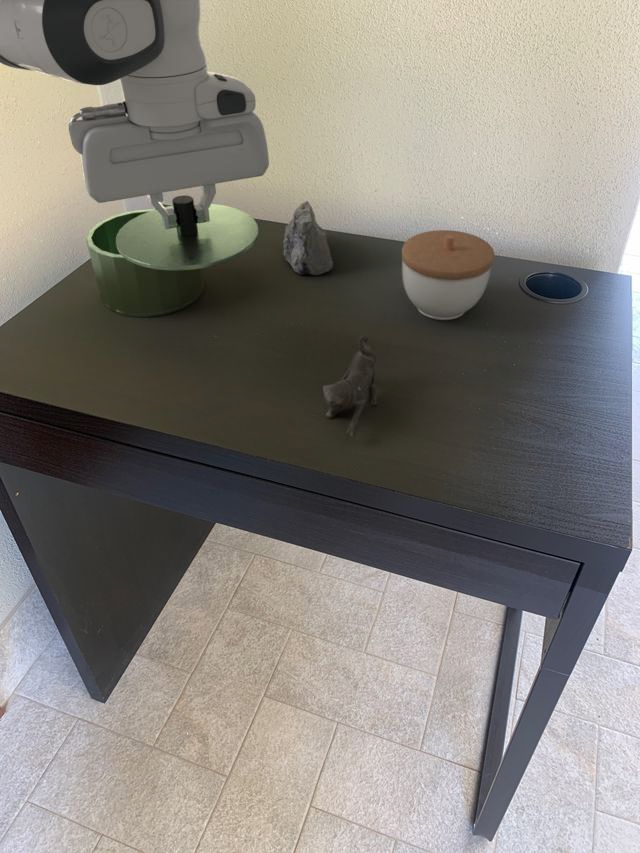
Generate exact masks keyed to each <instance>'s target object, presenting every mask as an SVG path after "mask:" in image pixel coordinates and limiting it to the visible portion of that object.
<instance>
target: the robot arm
mask: <svg viewBox="0 0 640 853" xmlns="http://www.w3.org/2000/svg"><path fill="white" fill-rule="evenodd" d="M201 19H202V10H201V1H200V0H0V64H2V65H4V66H7V67H10V68H13V69H17V70H18V69H19V70H25V71H33V72H37V73H40V74H44V75H46V76H50V77H52V78H56V79H60V80H64V81H68V82H71V83H75V84H79V85H84V86H105V85H108V84H111V83H114V82H116V81H118V80H119V82H120V83H119V84H120V87H121V88H120V89H121V92H122V97H123V102H115V103H109V104H105V105H101V106H95V107H93V106H86V107H82V108H80V109H79V112H78V113H75V114H74V115H73V116H72V117H71V118H70V120H69V123H68V133H69V136H70V141H71V145H72V147H73V148H74V150H75V151H76V152H77V153H78V154H80V162H81V169H82V175H83V180H84V181H83V182H84V185H85V189H86V192H87V194H88V196H89V197H90V198H91V199H93V200H94V201H95V202H97V203H98V204H105V203H109V202H114V201H122V200H127V199H132V198H138V197H145V196H147V199H148V200H149V202H150V204H151V205H152V206H153V207H154V209H157V211H158V212H159V213H160V214H161V218H162V223H163V226H164V228H165V230H166V229H171V228H176V227H178V224H177V221H176V220H177V217H176V213H175V212H174V210H173V208H169V209H165V208H164V207H165V206H164V205H163V204H162V203H163V202H164V195H163V193H169V192H173V191H180V190H186V189H192V188H197V187H198V188H199V189H200V190H201V191H202V193H201V196H200V199H199V201H198V203H197V204H195V203H194V207H195V214H196V221H197V224H198V223H204V222H209V221H210V218H209V210H208V208H209V207H210V205H211V204H213V200H214V199H215V196H216V194H217V189H216V188H217V187H216V184H217V185H218V184H223V183H227V182H228V183H229V182H234V181H239V180H245V179H246V180H247V179H251V178H257V177H262V176H264V175H265V173H266V172H267V171H268V168H269V166H270V159H269V158H270V157H269V149H268V142H267V136H266V132H265V128H264V125H263V121H262V120H261V119H260V117H259V116H258V115H257V114H256V113H255V109H256V96H255V93H254V91H252V89H251V88H250V87H249V86H248V85H247V84H245V83H244V81H241V80H240V79H238V78H236V77H235V76H232V75H228V74H222V73H218V72H214V71H209V70H208V62H207V57H206V54H205V51H204V49H203V46H202V43H201V37H200V28H201V26H200V25H201ZM79 118H81V119H79Z"/></svg>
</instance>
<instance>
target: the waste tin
mask: <svg viewBox="0 0 640 853" xmlns="http://www.w3.org/2000/svg"><path fill="white" fill-rule="evenodd" d="M153 210H156V208H153V209H152V208H148V209H139V210H131V211H127V212H126V211H125V212H121V213H117V214H114V215H112V216H110V217H108V218H104V219H102V220H100V221H99V222H98V223H96V224H95V225H93V226H92V227H91V228H90V229H89V231H88V232H87V235H86V236H85V242H86V246H87V250H88V253H89V257H90V261H91V264H92V269H93V272H94V277H95V281H96V284H97V288H98V292H99V296H100V298H101V302H102V304H103V305H104V306H105V307H106V308H107V309H108V310H110V311H112V312H113V313H116V314H118V315H122V316H126V317H133V318H153V317H160V316H165V315H169V314H173V313H176V312H179V311H180V310H181V311H182V310H183V309H185V308H187V307H189V306H191V305H192V304H194V303H195V302H196V301H197V300H198V299H199V298H200V297H201V296H202V294H203V292H204V290H205V289H204V288H205V277H204V276H205V275H204V270H203V269H204V268H201V269H194V270H180V271H171V270H157V269H151V268H147V267H143V266H140V265H137V264H134V263H132V262H130V261H128V260H127V259H125V258H124V257H123V256H122V255H121V254H120V253H119V251H118V249H117V245H116V237H117V234H118V232H119V231H120V229H121V228H122V227H123V226H124V225H125V224H127V223H128V222H129V221H131V220H132V219H134V218H136V217H138V216H140V215H142V214H144V213H147V212H150V211H153Z"/></svg>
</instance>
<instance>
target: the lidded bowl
mask: <svg viewBox="0 0 640 853" xmlns="http://www.w3.org/2000/svg"><path fill="white" fill-rule="evenodd" d="M401 259H402V260H401V275H402V285H403V288H404V291H405V294H406V296H407V298H408V300H409V301H410V302H411V304H412V305H413V306H414V307H416V310H418V312H419V313H420V314H421V315H423V316H425V317H427V318H430V319H433V320H437V321H439V320H440V321H449V320H450V321H451V320H455V319H458V318H460V317H462V316H463V315H465V313H466V312H467V311H469V310H471V309H472V308H473V307H475V306H476V304H478V302H479V301H480V300H481V298H482V297H483V295H484V293H485V291H486V289H487V286H488V283H489V281H490V278H491V273H492V272H491V271H492V266H493V264H494V260H495V251H494V248H493V247H492V246H491V245H490V244H489V242H488V241H486V240H485V239H483V238H481V237H479V236H477V235H474V234H472V233H469V232H463V231H457V230H451V229H449V230H447V229H439V230H437V229H436V230H429V231H424V232H421V233H417V234H415V235H413V236H411V237H410V238H408V239H407V240H406V241H405V242H404V243H403V245H402V248H401Z"/></svg>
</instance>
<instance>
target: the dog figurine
mask: <svg viewBox="0 0 640 853" xmlns="http://www.w3.org/2000/svg"><path fill="white" fill-rule="evenodd" d="M357 345H358V349H359V350H358V351H357V352H356V353H355V354H354V356H353V358H352V360H351V363H350V365H349V366H348V368H347V370H346V372H345V373H344V374H343V375H342V377H341V379H340V380H338V382H335V383H331V384H325V385H323V386H322V392H323V396H324V397H323V398H324V400H325V402H326V405H327V406H329V408H328V411H327V412H326V414H325V416H326V418H328V419H333V418H335V416H337V414H338V413H339V411H340V410H342V409H343V408H344V409H345V410H351V409H353V408H354V410H353V414H352V415H353V416H352V418H351V421H350V423H349V427H348V428H347V430H346V434H347V436H349V437H352V438H353V437H355V436H356V434H357V431H356V430H357V428H358V424H359V420H360V417H361V415H362V412H363V410H364V409H365V406H366V404H367V401H368V405H369V406H376V405H377V404H378V401H377V383H376V361H377V358H376V354H375V352H374V351H373V350H372V349H371V340H370V339H369V337H368V336H366V334H364V335H361V336H360V337H359V339H358V344H357Z"/></svg>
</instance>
